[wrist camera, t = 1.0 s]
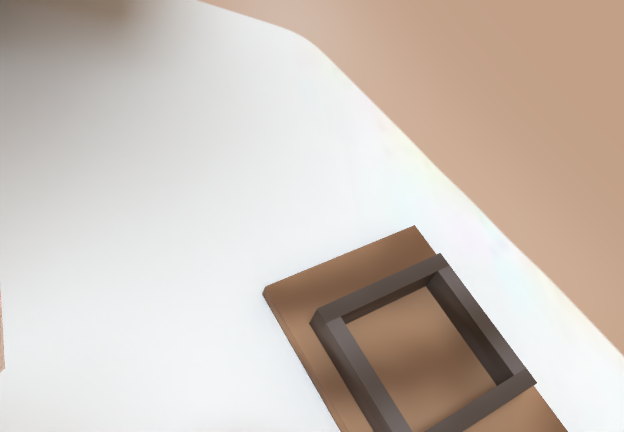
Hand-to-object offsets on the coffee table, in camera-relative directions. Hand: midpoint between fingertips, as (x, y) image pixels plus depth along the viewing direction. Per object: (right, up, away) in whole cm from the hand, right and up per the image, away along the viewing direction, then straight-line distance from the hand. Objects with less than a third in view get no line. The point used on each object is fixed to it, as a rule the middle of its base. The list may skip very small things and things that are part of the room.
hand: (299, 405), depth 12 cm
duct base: (+6, -6, +25) cm, 26 cm away
